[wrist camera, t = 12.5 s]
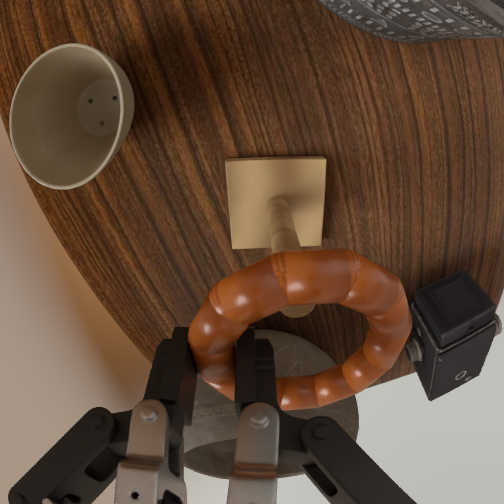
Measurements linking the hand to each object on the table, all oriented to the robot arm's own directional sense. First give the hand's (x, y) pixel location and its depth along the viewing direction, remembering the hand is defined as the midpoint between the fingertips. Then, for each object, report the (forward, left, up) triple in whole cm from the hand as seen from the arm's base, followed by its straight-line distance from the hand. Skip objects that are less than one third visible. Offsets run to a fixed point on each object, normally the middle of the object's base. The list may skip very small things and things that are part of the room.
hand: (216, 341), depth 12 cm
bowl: (+2, -21, -15) cm, 26 cm away
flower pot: (-10, +10, -15) cm, 21 cm away
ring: (+4, 0, +1) cm, 4 cm away
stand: (+4, 0, -15) cm, 16 cm away
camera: (+24, -14, -15) cm, 32 cm away
